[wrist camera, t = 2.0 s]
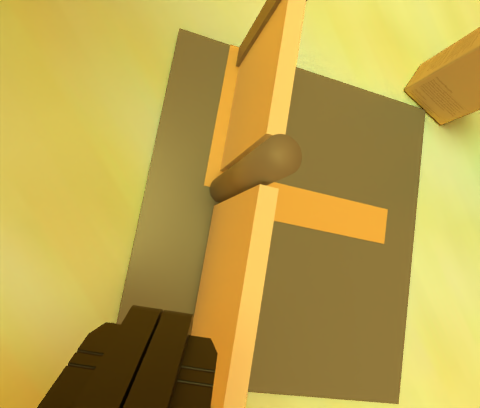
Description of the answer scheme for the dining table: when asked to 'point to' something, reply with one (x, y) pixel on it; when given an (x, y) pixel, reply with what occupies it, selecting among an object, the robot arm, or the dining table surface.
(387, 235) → the mat
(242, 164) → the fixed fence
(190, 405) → the robot arm
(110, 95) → the dining table surface
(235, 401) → the hinged panel
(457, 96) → the skincare box
